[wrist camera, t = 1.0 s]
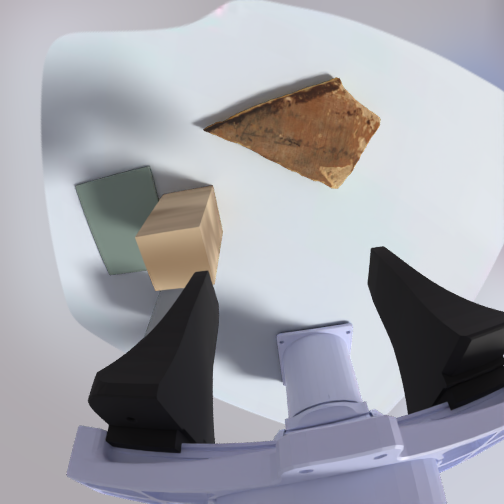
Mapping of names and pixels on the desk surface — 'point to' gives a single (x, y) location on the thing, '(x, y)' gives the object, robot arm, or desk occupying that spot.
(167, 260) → the oak block
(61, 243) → the desk surface
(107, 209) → the mat
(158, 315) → the grey block
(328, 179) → the shard
